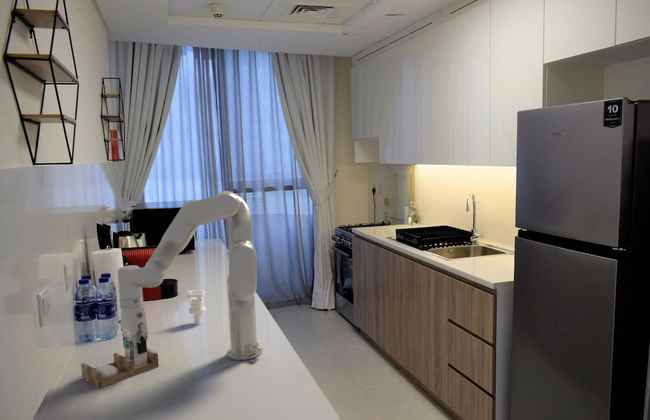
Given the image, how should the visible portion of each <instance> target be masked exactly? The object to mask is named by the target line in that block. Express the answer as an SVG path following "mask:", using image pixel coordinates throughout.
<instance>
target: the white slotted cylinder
mask: <svg viewBox="0 0 650 420" xmlns="http://www.w3.org/2000/svg"><path fill="white" fill-rule="evenodd" d="M205 295H206V294H205V291H204V290H194V289H192V290H187V297H188V300H189V302H190V305H189V306H190V308H189V309H188V313H190V314H193V318H194V320H193V321H194V325H197V326H198V325H201V324H203V323H202V318H203V317H202V313H203V314H204V313H205V312H207V309H206V307H205V306H204V304H205V303H204V297H203V296H205Z"/></svg>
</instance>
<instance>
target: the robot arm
mask: <svg viewBox="0 0 650 420" xmlns="http://www.w3.org/2000/svg"><path fill="white" fill-rule="evenodd" d="M226 219H227V222H228V248H227V249H228V250H227V256H228V270H229V271H228V272H229V273H228V275H227V280H226V289H227V290H226V291H227V300H228V301H227V302H228V318H229V319H228V320H229V322H228V323H229V334H230V335H229V337H230V339H229V340H230V348H229V349H228V350H227V351H226V356H227V358H229V359H231V360H236V361H246V360H251V359H254V358H257V357H259V356H260V355H262V353H263V348H262V347H261V346H260V344H259V342H258V337H257V336H258V335H257V316H256V315H257V312H256V310H257V309H256V297H255V296H256V295H255V294H256V293H257V288H258V255H257V251H256V248H255V246H254V229H253V228H254V227H253V225H254V224H253V216H252V212H251V210H250V208H249V206H248V204H247V202H246V201H245V200H244V199H243V198H242V197H240V196H239V195H238V194H236V193H234V192H233V191H228V190H223V191H220V192H218V193H217V194H216V195H214V196H210V197H209V196H208V197H205V198H202V199H189V200H187V201H186V202H184V203H183V204H182V206H181V208H180V209H179V211H178V212H177V214H176V216H175V217H174V218H173V220H172V221H171V223H170V224H169V226H168V228H167V229H166V231H165V232H164V234H163V236H162V237H161V240H160V242H159V243H158V245H157V247H156V248H155V250H154V251H153V253H152V254H151V256H150V257H149V259H148V260H147V262H146V263H145V266H144V267H140V266H138V265H134V264H133V265H132V264H131V265H123V266H121V267H119V268H118V269H117V281H118V283H117V284H118V294H119V295H118V296H119V307H120V321H119V324H120V330H121V335H122V343H123V346H124V334H123V328H126V329H128V330H131V332H132V336H135V337H136V339H137V341H138V343H137V353H138V354H142V353H145V352H147V348H148V347H147V341H148V333H149V331H148V323H147V315H146V311H145V308H144V307H145V306H144V294H143V288H151V289H152V288H157V287H158V286H160V285H161V284H162V283H163V281H164V278H165V275H166V273H167V271H168V270H169V268H170V267H171V265H172V264H173V262H174V261H175V259H176V258H177V257H178V255H179V254H180V253H181V252H182V251H184V249H185V248H186V247H187V245H188V244H189V243H190V241H191V240H192V238H193V236H194V235H195V233H196V232H197V230H198V229H199V226H203V225H207V224H210V223H211V224H212V223H216V222H217V221H218V222H219V221H222V220H226ZM140 332H141V333H140ZM137 333H138V334H137ZM141 335H142V336H141ZM139 336H141V338H139Z"/></svg>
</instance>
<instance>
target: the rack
mask: <svg viewBox="0 0 650 420" xmlns="http://www.w3.org/2000/svg"><path fill="white" fill-rule="evenodd" d="M106 365H113V366H114V367H116V368H117V369H118V371H120V373H119V374H117V375H114V376H111V377H108V378H105V379H102V380H101V372H99V371H98V370H96V369H97V367H95V368H94V367H93V366H90V365H88V364H87V363H86V362H83V363H81V374H82V375H81V376H82V378H83V377H84V378H85V379H86V380H88V381H89V382H90V383H89V382H88V381H87V382H88V383H89V384H91V383H92V384H91V385H92V386H94V387H96V388H97V389H100V388H103V387H106V386H109V385H113V384H114V383H117V382H120V381H123V380H126V379H128V378H132V377H133V376H137V375H139V374H140V375H141V374H143V373H145V372H148V371H150V370H153V369H157V368H159V366H160V365H159V353H158V352H157V351H155V350H152V349H150V348H148V347H147V364H145V365H142V366H140V367H137V368H134V366H133V361H132V360H130V359H128V358H126V357H125V355H122V354H120V353H118V352H116V353H113V362H109V363H106ZM86 380H85V381H86Z"/></svg>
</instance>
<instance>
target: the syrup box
mask: <svg viewBox="0 0 650 420" xmlns="http://www.w3.org/2000/svg"><path fill="white" fill-rule="evenodd" d="M122 333H123V334H124V336H123V337H124V345H123V349H124V357H126V358H128V359H130V360H132V361H133V366H134V368H137V367H140V366H142V365H145V364H147V352H145V353H142V354H138V353H137V343H138V341H137V339H136V337H135V336H132V332H131V330H128V329H126V328H123V332H122ZM140 333H141V332H140ZM137 334H138V333H137ZM141 336H142V335H141ZM141 336H139V338H141Z"/></svg>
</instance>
